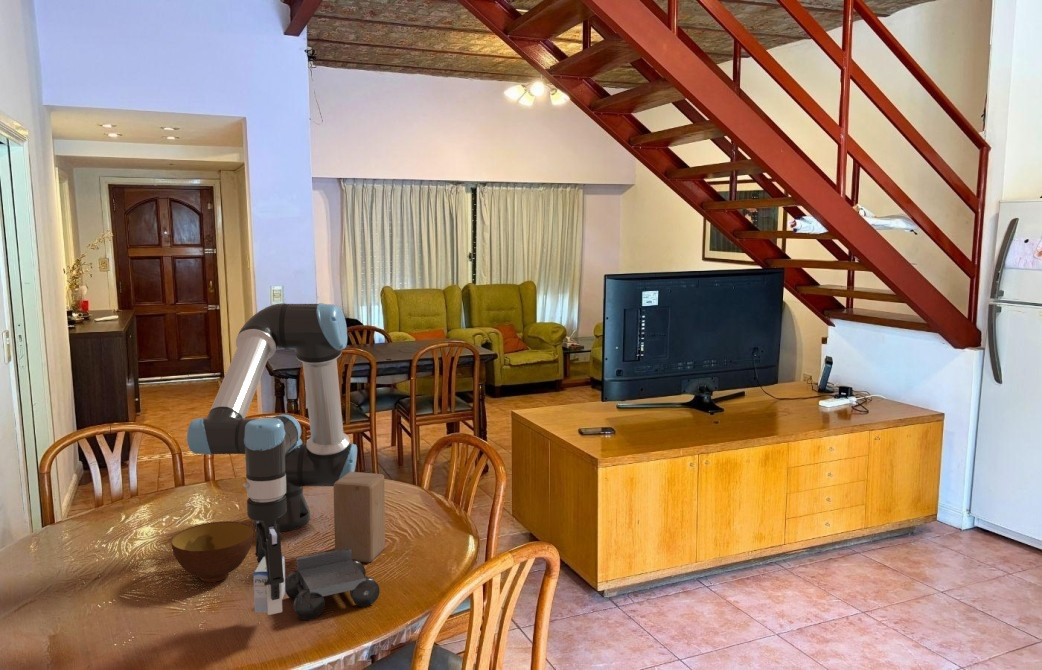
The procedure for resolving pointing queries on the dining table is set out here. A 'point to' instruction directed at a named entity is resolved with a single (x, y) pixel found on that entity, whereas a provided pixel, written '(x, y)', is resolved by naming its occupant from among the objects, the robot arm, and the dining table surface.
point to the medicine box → (263, 586)
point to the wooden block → (360, 514)
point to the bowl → (212, 548)
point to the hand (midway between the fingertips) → (270, 602)
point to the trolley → (328, 582)
